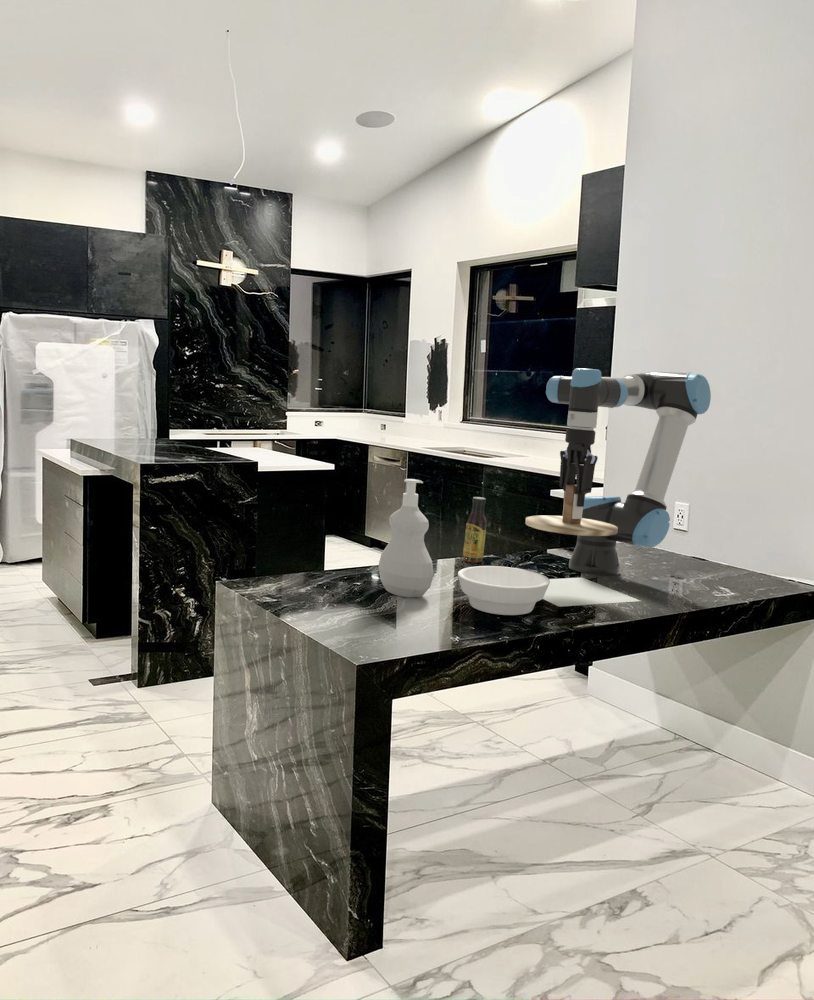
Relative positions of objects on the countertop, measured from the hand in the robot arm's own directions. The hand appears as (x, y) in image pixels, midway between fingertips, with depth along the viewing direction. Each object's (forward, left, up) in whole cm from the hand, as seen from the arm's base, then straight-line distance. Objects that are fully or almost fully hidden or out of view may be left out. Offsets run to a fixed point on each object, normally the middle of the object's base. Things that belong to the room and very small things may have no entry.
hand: (572, 517), depth 227 cm
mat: (-3, -1, -21) cm, 21 cm away
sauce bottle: (+5, -41, -21) cm, 46 cm away
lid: (0, 0, -3) cm, 3 cm away
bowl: (+25, +9, -21) cm, 34 cm away
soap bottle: (+43, -9, -21) cm, 49 cm away
